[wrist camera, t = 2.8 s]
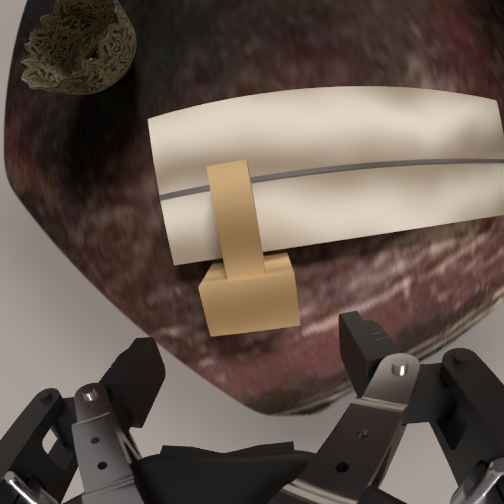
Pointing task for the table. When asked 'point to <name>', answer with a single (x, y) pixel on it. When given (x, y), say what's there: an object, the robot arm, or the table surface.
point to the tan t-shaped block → (244, 263)
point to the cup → (80, 48)
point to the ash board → (331, 164)
